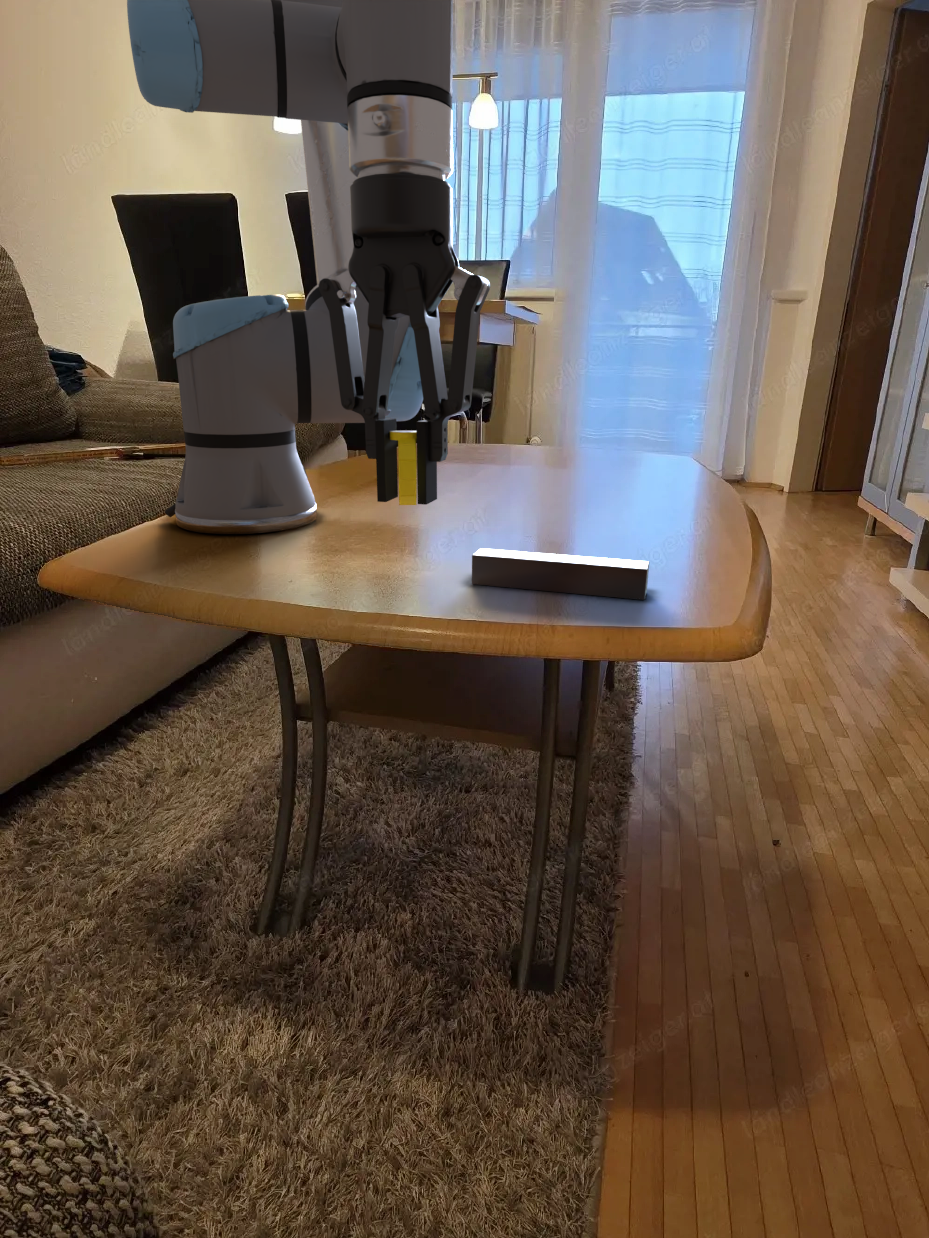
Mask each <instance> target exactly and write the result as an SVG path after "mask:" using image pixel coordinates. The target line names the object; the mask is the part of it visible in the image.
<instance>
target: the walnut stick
mask: <svg viewBox="0 0 929 1238" xmlns="http://www.w3.org/2000/svg"><path fill="white" fill-rule="evenodd" d="M649 571H650V561H648V560H634V559H624V558H623V559H622V558H611V557H609V558H608V557H599V556H598V557H597V556H583V555H573V554H572V555H571V554H559V553H557V554H556V553H548V552H547V553H546V552H535V551H534V552H533V551H522V550H521V551H520V550H509V549H497V548H496V549H495V548H483V547H482V548H481V547H479V549H478V550H476V551H475V552H474V553H473V554H472V555H471V584H472V585H477V586H478V585H479V586H489V587H498V588H499V587H500V588H508V589H509V588H510V589H519V590H531V591H543V592H552V593H553V592H555V593H566V594H574V595H575V594H576V595H587V596H596V597H597V596H598V597H606V598H607V597H608V598H618V599H628V600H641V601H645V599H646V596H647V593H648V592H647V591H648V584H649V583H648V582H649V573H650V572H649Z"/></svg>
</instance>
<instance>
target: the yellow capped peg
mask: <svg viewBox="0 0 929 1238" xmlns="http://www.w3.org/2000/svg"><path fill="white" fill-rule="evenodd" d="M390 440H397V473H398V506H417V505H418V494H417V430H407V429H405V430H401V429H400V430H397V431H390Z"/></svg>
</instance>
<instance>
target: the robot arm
mask: <svg viewBox="0 0 929 1238" xmlns="http://www.w3.org/2000/svg"><path fill="white" fill-rule="evenodd" d="M126 10H127V24H128V25H127V26H128V34H129V42H130V48H131V54H132V61H133V67H134V73H135V77H136V82H137V86H138V90H139V91H140V94H141V96H142V98H143V99H144V100H145V101H146V102H147V103H148V104H149V105H152V106H154V107H160V108H166V109H172V110H179V111H181V112H184V113H191V114H193V113H194V112H201V113H202V112H203V113H217V114H219V113H220V114H232V115H247V116H261V117H262V116H263V117H277V118H280V119H281V118H282V119H286V120H287V119H288V120H297V121H298V120H299V121H300V125H301V134H302V135H301V136H302V146H303V154H304V164H305V165H304V166H305V176H306V186H307V187H306V188H307V195H308V205H309V206H308V207H309V215H310V217H309V218H310V226H311V235H312V236H311V237H312V245H313V247H312V248H313V255H314V267H315V276H316V285H315V286H313V288H312V289H311V290H310V291H309V293H308V294H307V296H306V298H305V302H304V303H305V304H304V306H305V309H303V310H301V309H300V310H298V309H289V303H288V300H287V299H286V297H285V295H282V294H264V295H260V294H259V295H247V296H236V297H228V298H220V299H213V300H208V301H207V300H206V301H201V302H196V303H190V304H188V305H185V306H183V307H180V308H179V309H178V310H177V312H176V313H175V314H174V316H173V320H172V330H173V344H174V345H173V346H174V349H173V350H174V351H173V353H172V357H173V360H174V359H175V361H176V371H177V379H178V380H177V381H178V388H179V397H180V399H179V400H180V407H181V416H182V417H181V418H182V427H183V428H182V429H183V434H184V435H183V436H184V443H185V457H184V461H183V467H182V471H181V475H180V480H179V481H180V482H179V485H178V490H177V495H176V496H177V497H176V499H175V503H174V504H172V505H171V506H170V507H168V508H166V509H165V510H164V513H165V514H166V516H167V517H168V518H172V517H174V516H175V522H176V525H177V526H178V527H179V528H181V529H183V530H187V531H190V532H196V533H205V534H217V535H246V534H261V533H271V532H278V531H284V530H289V529H295V528H299V527H303V526H306V525H308V524H311V523H312V522H314V521H316V519H317V517H318V514H317V503H316V497H315V495H314V492H313V490H312V488H311V485H310V482H309V480H308V479H309V477H308V474H307V471H306V468H305V466H304V465H303V464H302V461H301V459H300V457H299V454H298V450H297V442H296V441H297V440H296V429H295V428H296V424H364V435H365V439H364V440H365V454H366V457H367V459H368V460H375V463H376V464H375V466H376V467H375V468H376V496H377V497H376V499H377V503H387V502H389V501H391V500H394V499H396V498H399V473H398V440H390V431H398V430H397V422H406V421H410V420H411V419H413V418H415V417H416V415H418V414H419V411H420V409H421V407H422V405H423V407H424V413H422V418H423V419H422V420H418V421H415V422H416V424H415V425H416V431H417V441H416V459H417V461H416V462H417V478H416V479H417V505H429V504H431V503H433V502H434V501H436V500H438V463H441V462H443V461H445V460H447V457H448V454H449V442H448V441H449V434H448V433H449V432H448V431H449V428H448V427H449V420H450V418H452V416H454V415H457V414H460V413H463V412H466V411H468V410H469V409H470V408H471V405H472V397H473V388H474V377H475V368H476V358H477V357H476V356H477V348H478V337H479V326H480V319H481V317H480V316H481V310H482V308H483V306H484V303H485V302H486V300H487V297H488V295H489V292H490V289H491V283H490V280H489V279H488V278H486V277H483V276H480V275H478V274H473V273H471V272H470V271H467V270H466V269H463V268H462V267H460V263H459V258H458V257H457V255H456V253H455V251H454V246H453V239H454V238H453V237H454V227H453V226H454V209H453V205H454V195H453V193H454V188H453V187H451V184H450V183H449V182H448V181H447V180H448V179H449V177H451V175H453V173H454V148H453V147H454V144H453V143H454V142H453V141H454V140H453V137H454V136H453V135H454V134H453V133H454V131H453V126H454V125H453V122H454V121H453V71H454V70H453V68H454V67H453V58H454V57H453V56H454V55H453V53H454V52H453V51H454V50H453V49H454V47H453V46H454V20H453V19H454V0H126ZM452 284H453V285H454V290H453V296H454V298H455V299H456V301H457V303H456V307H455V313H454V314H455V315H454V324H453V336H452V346H451V359H450V369H449V382H448V388H447V382H446V375H445V366H444V359H443V351H442V345H441V344H442V343H441V336H440V327H441V321H440V313H439V305H440V303H441V301H442V300H443V299H444V297H445V296H446V293H447V292H448V290H449V289H450V287H451V286H452Z"/></svg>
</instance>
